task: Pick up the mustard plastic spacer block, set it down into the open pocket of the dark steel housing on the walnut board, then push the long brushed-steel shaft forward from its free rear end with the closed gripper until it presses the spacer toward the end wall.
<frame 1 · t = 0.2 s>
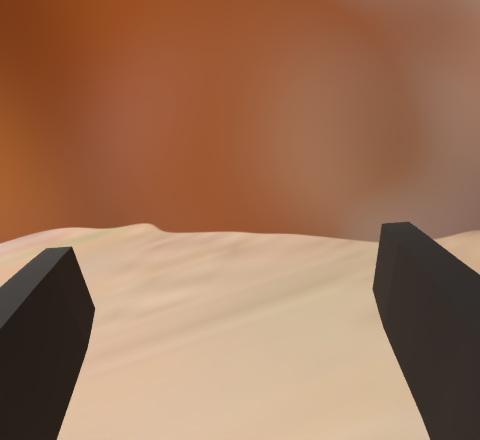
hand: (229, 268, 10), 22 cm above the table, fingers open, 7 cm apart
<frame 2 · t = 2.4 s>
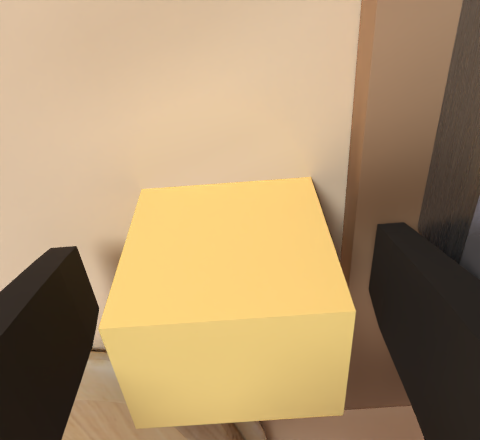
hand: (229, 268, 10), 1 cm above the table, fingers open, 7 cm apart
spacer: (230, 231, 12), on the table
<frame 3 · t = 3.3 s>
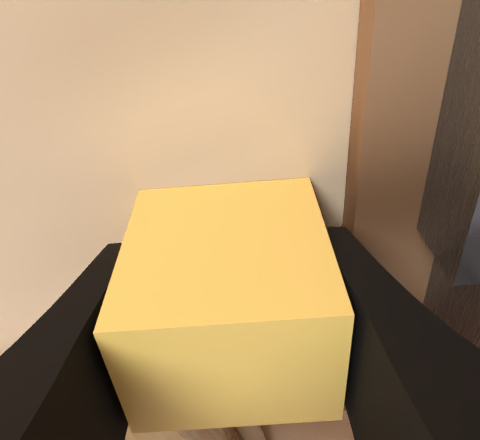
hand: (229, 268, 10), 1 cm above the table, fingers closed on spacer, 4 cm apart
spacer: (229, 232, 11), on the table, touching gripper
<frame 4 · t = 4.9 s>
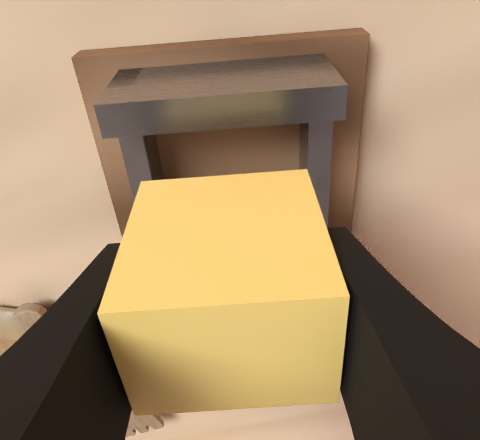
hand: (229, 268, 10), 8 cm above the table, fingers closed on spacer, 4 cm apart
board: (235, 212, 19), on the table
spacer: (228, 223, 12), point 7 cm above the table, touching gripper
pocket: (229, 141, 17), resting on board
when the fingers open (4 cm above the table, at t = 6.5 s): spacer drops 1 cm, resting on board.
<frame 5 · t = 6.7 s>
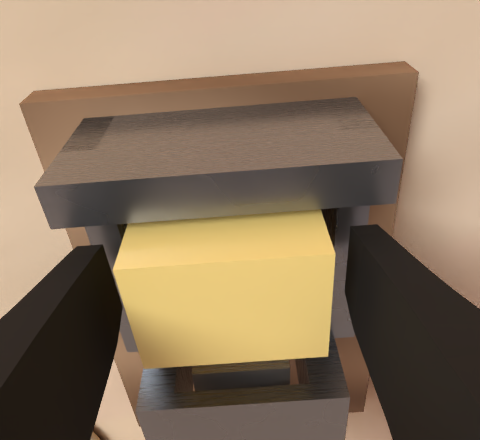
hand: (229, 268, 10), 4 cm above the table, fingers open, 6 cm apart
board: (238, 280, 16), on the table
spacer: (228, 201, 13), point 1 cm above the table, touching board
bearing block: (240, 307, 17), resting on board
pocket: (230, 199, 14), resting on board
shaft: (246, 398, 15), point 3 cm above the table, slide at 0.0 cm
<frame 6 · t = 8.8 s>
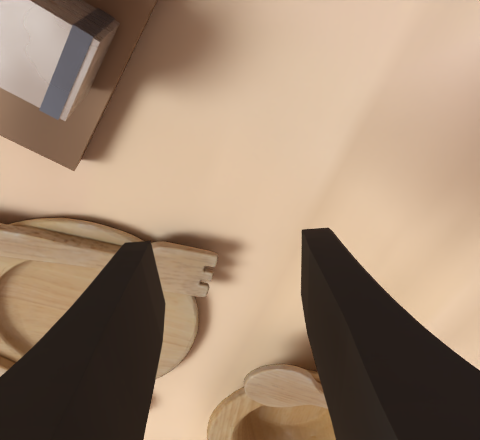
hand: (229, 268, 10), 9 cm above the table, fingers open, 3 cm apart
tableware set: (143, 418, 32), on the table
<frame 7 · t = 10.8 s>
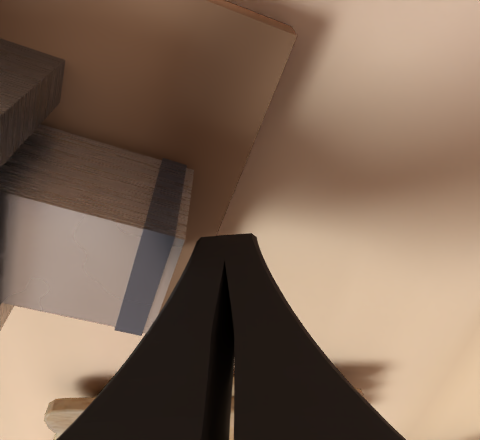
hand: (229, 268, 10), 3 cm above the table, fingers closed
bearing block: (4, 138, 11), resting on board
shaft: (15, 208, 9), point 3 cm above the table, slide at 0.5 cm, touching gripper
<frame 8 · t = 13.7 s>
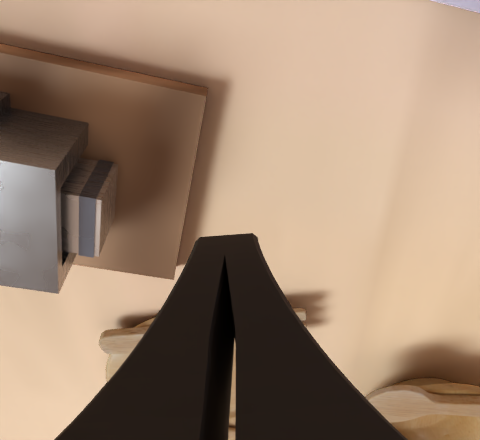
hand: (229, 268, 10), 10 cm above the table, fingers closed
board: (28, 160, 20), on the table
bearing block: (59, 166, 20), resting on board
shaft: (20, 194, 17), point 3 cm above the table, slide at 2.5 cm, touching spacer
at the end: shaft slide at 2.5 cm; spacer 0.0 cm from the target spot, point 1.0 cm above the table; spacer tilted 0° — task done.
